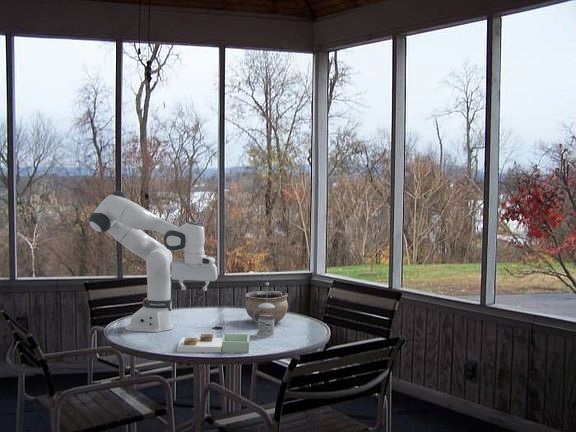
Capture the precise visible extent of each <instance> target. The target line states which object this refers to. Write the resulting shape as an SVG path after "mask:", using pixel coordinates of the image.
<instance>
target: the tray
mask: <svg viewBox="0 0 576 432" xmlns="http://www.w3.org/2000/svg"><path fill="white" fill-rule="evenodd" d="M223 336H224V337H223V341H222V350H221V353H222V352H234V353H235V354H236V353H237V354H239V353H240V354H249V353H250V352H249V351H250V338H251V337H250V336H251V335H250V333H224V335H223ZM234 353H233V354H234Z"/></svg>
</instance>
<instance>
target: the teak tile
mask: <svg viewBox="0 0 576 432" xmlns="http://www.w3.org/2000/svg"><path fill="white" fill-rule="evenodd" d="M196 344H197V338H185V340H184V345H196Z"/></svg>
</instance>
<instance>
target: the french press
mask: <svg viewBox="0 0 576 432" xmlns="http://www.w3.org/2000/svg"><path fill="white" fill-rule="evenodd" d="M264 285H265V286H269V285H270V283H269V282H265V283H264ZM258 307H259V308H262V309H266V314H265V313H263V314H259V316H260V317H259V318H258V322H256V320H255V321H254V320H253V319H252V321H253V322H255V324H256V325H257V333H256V334H255V337H257V338H260V339H261V338H262V339H272V338H273V339H274V338H276V337H277V334H276V333H275V323H274V318H273V316H274V315H273V314H269V313H268V314H267V309H273V308H275V306H274V305H273V304H270V303H263V304H260V305H259V306H258ZM259 308H258V309H259ZM256 310H257V309H256ZM256 310H255V311H256ZM259 311H260V309H259V310H258V312H259ZM253 313H254V314H255V312H253ZM254 319H255V317H254ZM264 319H270V320H264Z"/></svg>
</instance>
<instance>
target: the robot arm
mask: <svg viewBox="0 0 576 432" xmlns="http://www.w3.org/2000/svg"><path fill="white" fill-rule="evenodd" d="M87 221H88V224H89V226H90V227H91V228H92V229H93V230H94V231H96V232H97V233H106V232H108V233H109V234H110V235H111V236H112V237H113V239H115V240H116V241H117V242H118V243H119V244H121V245H122V246H123V247H124V248H126V250H129V251H130V252H131V253H132V254H134V255H136V256H138V257H139V258H141V259H143V260H144V261H145V266H146V279H147V290H146V291H147V297H145V298H143V300H142V307H141V308H140V309H138V310H137V311H136V312H135V313H133V314H132V316H131V318H130V323H128V324H126V326H125V330H126V331H131V332H132V331H133V332H145V333H159V332H163V331H169V330H173V329H174V323H173V319H172V318H173V317H172V309H173V308H172V307H173V306H172V304H173V303H172V302H173V301H172V298H171V297H172V294H171V293H172V291H171V290H172V282H171V280H173V281H174V280H175V281H178V283H179V285H180V286H181V291H186V290H187V286H186V285H185V284H184V281H201V282H204V281H205V284H204V286H202V291H203V292H206V291H208V286H209V284H210V282H215V281H217V280H218V268H217V265H216V264H215V262H216V258H215V257H212V256H208V255H206V252H205V238H206V235H205V227H204V225H203V224H201V223H200V222H195V221H187V222H186V223H184V224H183V225H181V226H178V225H177V224H174V223H172V222H170V221H168V220H166V219H164V218H162V217H159V216H158V215H156V214H155V213H153V212H151V211H150V210H148V209H146V208H145V207H143V206H141V205H140V204H138V203H136V202H134V201H132V200H131V199H130V198H129V196H128V195H127V194H126V193H124V192H123V191H121V190H118V189H117V190H114V191H112V192H110V193H109V195H108V196H106V197H105V198H104V199H103V200H102V201H101V202H100V203H99V205H98V206H97V207H96V208H95V210H94V211H93V212H92V213H91V214H90V215H89V217H88V220H87ZM144 230H146V231H155V232H157V233H159V234H160V235H163V239H162V241H163V244H162V243H161V242H159V241H158V240H156V239H155V238H153V237H152V236H150V235H149V234H147V233H146V232H144ZM182 250H183V251H184V253H183V255H184V256H183V257H184V258H174V259H173V253H172V252H178V251H182ZM171 251H172V252H171Z"/></svg>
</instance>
